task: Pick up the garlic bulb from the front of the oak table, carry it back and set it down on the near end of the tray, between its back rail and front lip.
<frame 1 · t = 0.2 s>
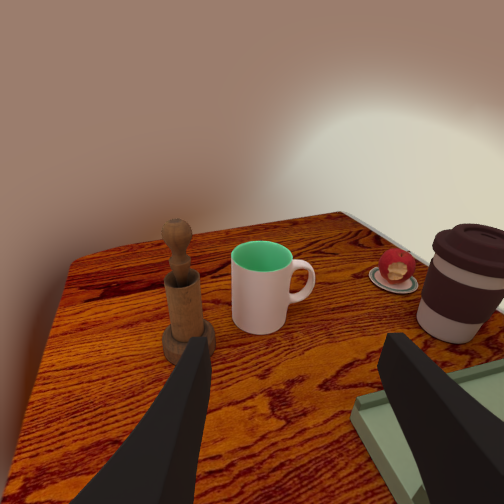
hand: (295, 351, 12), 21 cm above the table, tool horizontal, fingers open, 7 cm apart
coffee cup: (442, 327, 43), on the table
apple: (391, 282, 52), on the table
mug: (271, 313, 45), on the table
mortar and pestle: (190, 347, 38), on the table
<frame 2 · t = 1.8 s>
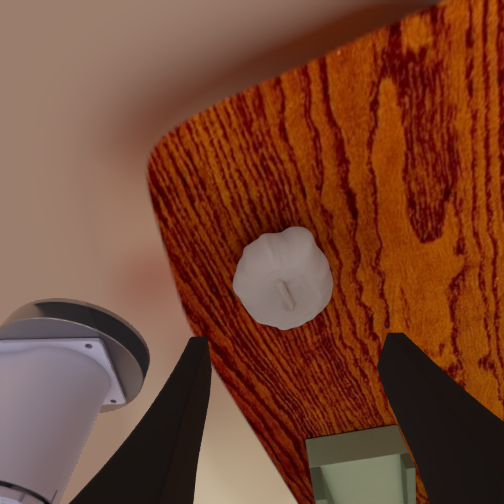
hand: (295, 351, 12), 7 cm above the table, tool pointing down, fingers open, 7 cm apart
garlic: (278, 255, 18), on the table
tray: (365, 496, 37), on the table
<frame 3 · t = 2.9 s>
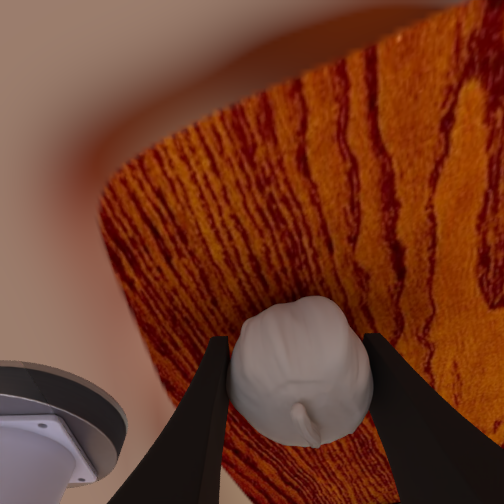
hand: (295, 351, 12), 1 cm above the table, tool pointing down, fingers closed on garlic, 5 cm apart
garlic: (290, 323, 13), on the table, touching gripper
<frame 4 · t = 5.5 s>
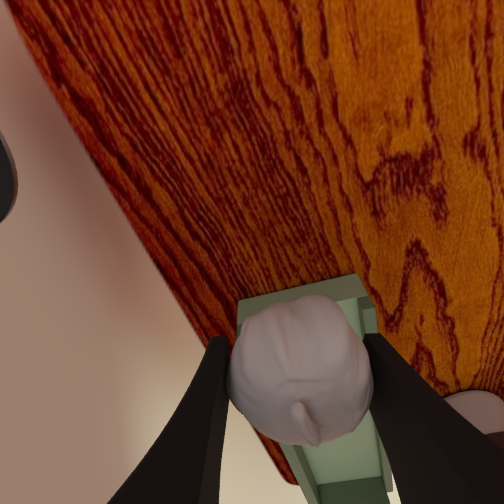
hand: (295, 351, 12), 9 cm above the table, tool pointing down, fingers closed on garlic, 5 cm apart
coffee cup: (460, 407, 31), on the table
garlic: (289, 322, 13), point 8 cm above the table, touching gripper
tray: (328, 405, 30), on the table
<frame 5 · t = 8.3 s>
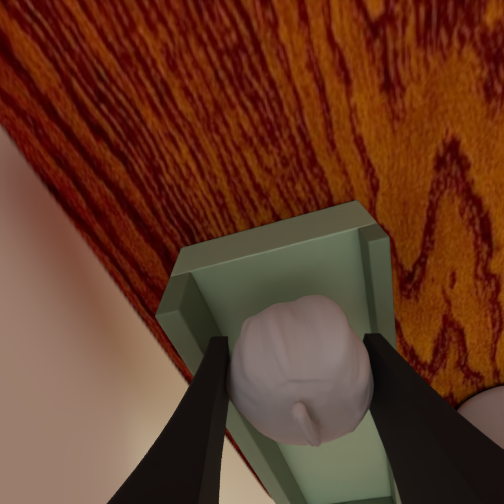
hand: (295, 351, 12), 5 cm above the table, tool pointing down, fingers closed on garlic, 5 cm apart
coffee cup: (496, 406, 23), on the table
garlic: (290, 322, 13), point 3 cm above the table, touching gripper
tray: (320, 404, 22), on the table
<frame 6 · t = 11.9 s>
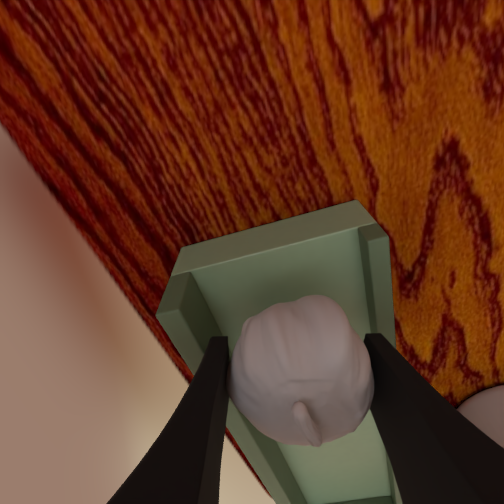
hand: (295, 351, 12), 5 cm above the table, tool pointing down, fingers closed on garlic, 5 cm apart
coffee cup: (496, 406, 23), on the table
garlic: (290, 322, 13), point 3 cm above the table, touching gripper
tray: (320, 404, 22), on the table
when the fingers open (6 cm above the table, at t = 14.8 s): garlic drops 2 cm, resting on tray.
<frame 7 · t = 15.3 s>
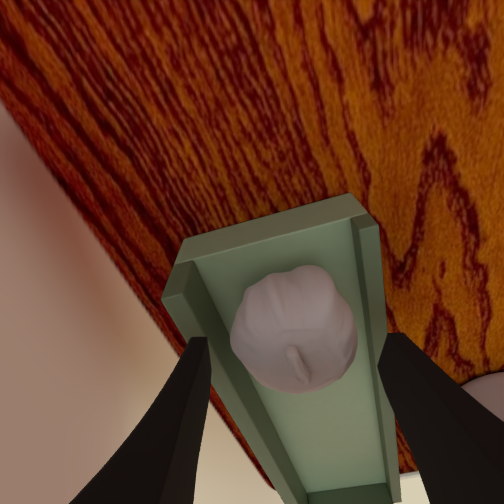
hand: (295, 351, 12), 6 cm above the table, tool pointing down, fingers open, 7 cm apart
coffee cup: (487, 394, 24), on the table
garlic: (286, 293, 15), point 2 cm above the table, touching tray
tray: (317, 392, 23), on the table
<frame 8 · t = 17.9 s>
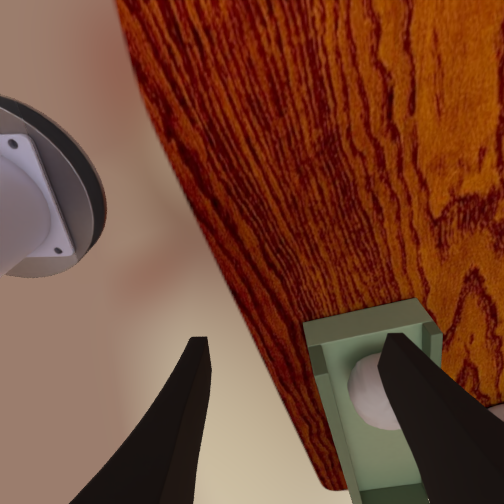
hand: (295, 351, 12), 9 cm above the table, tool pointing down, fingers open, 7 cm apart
garlic: (373, 361, 23), point 2 cm above the table, touching tray
tray: (373, 416, 31), on the table
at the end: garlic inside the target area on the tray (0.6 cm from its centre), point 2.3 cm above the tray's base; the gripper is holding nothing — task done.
